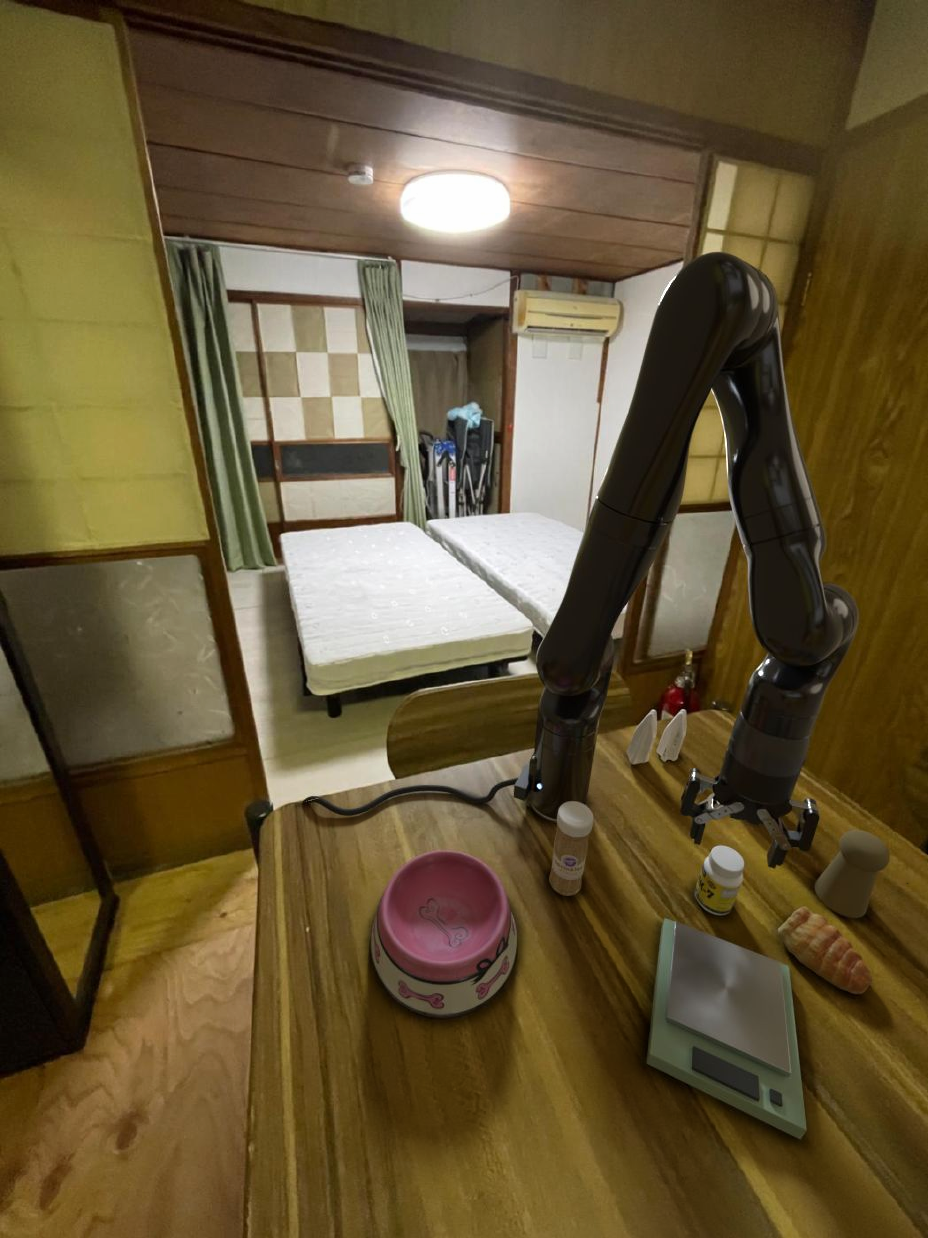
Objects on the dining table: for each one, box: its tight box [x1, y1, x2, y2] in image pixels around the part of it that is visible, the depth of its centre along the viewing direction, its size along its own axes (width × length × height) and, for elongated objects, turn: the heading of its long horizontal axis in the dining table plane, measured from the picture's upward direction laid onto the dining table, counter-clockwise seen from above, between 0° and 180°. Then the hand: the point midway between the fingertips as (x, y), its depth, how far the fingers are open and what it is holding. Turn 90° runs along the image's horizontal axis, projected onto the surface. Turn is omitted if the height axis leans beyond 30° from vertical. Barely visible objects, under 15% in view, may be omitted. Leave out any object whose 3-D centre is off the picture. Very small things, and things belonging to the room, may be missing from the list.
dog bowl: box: [369, 849, 518, 1019], centre depth 64 cm, size 18×19×7 cm
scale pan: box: [666, 921, 791, 1077], centre depth 57 cm, size 12×12×1 cm
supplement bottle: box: [694, 845, 745, 916], centre depth 68 cm, size 5×5×8 cm
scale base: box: [646, 917, 808, 1140], centre depth 57 cm, size 14×16×2 cm
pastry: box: [777, 906, 874, 995], centre depth 62 cm, size 9×7×4 cm
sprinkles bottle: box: [548, 801, 595, 897], centre depth 69 cm, size 5×5×13 cm
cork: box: [813, 829, 891, 919], centre depth 68 cm, size 6×6×11 cm
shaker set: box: [626, 708, 687, 765], centre depth 93 cm, size 12×4×11 cm, turn 107°
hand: (732, 850), depth 66 cm, fingers open, 8 cm apart
